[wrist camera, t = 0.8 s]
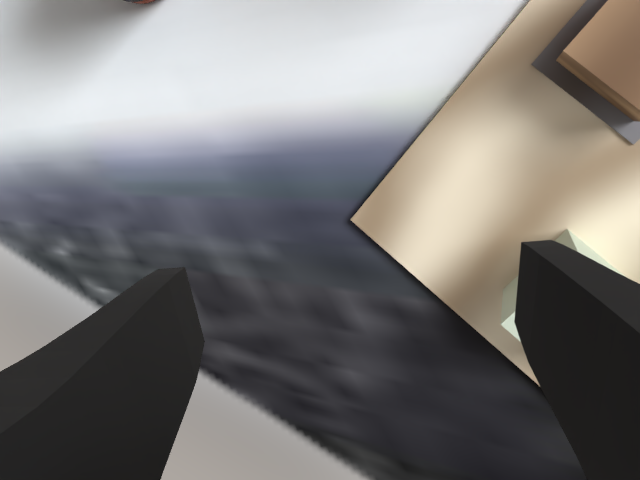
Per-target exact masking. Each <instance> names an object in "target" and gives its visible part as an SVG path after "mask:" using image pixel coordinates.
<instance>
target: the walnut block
mask: <svg viewBox="0 0 640 480" xmlns="http://www.w3.org/2000/svg"><path fill="white" fill-rule="evenodd" d="M556 61H557V62H558V63H560V64H561V65H562V66H564V67H565V68H566V69H567V70H569V71H570V72H571V73H573V74H574V75H575V76H576V77H578V78H579V79H580V80H581V81H583V82H584V83H585V84H587V85H588V86H589V87H590V88H592V89H593V90H594V91H596V92H597V93H598V94H599V95H601V96H602V97H603V98H605V99H606V100H607V101H608V102H610V103H611V104H612V105H614V106H615V107H616V108H617V109H619V110H620V111H621V112H623V113H624V114H625V115H626V116H628V117H629V118H630V119H632V120H633V121H638V122H640V0H608V1H607V2H606V3H605V4H604V5H603V6H602V8H601V9H600V10H599V11H598V12H597V13H596V14H595V16H594V17H593V18H592V19H591V20H590V21H589V22H588V23H587V25H586V26H585V27H584V28H583V29H582V30H581V31H580V32H579V34H578V35H577V36H576V37H575V38H574V39H573V40H572V41H571V43H570V44H569V45H568V46H567V47H566V48H565V49H564V50H563V52H562V53H561V54H560V56H559V57H558V58H557V59H556Z"/></svg>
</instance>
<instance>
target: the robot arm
mask: <svg viewBox="0 0 640 480" xmlns="http://www.w3.org/2000/svg"><path fill="white" fill-rule="evenodd" d="M514 322H515V325H516V329H517V332H518V335H519V338H520V341H521V344H522V346H523V349H524V352H525V355H526V357H527V360H528V363H529V365H530V367H531V369H532V371H533V373H534V375H535V377H536V379H537V381H538V383H539V385H540V387H541V389H542V391H543V393H544V394H545V396H546V398H547V400H548V402H549V404H550V406H551V408H552V410H553V412H554V414H555V416H556V418H557V419H558V421H559V423H560V425H561V427H562V429H563V431H564V433H565V435H566V437H567V439H568V441H569V443H570V444H571V446H572V448H573V450H574V452H575V454H576V456H577V458H578V460H579V463H580V465H581V467H582V469H583V471H584V473H585V475H586V478H587V480H640V284H639V283H637V282H635V281H633V280H631V279H629V278H627V277H625V276H623V275H621V274H619V273H617V272H615V271H613V270H611V269H609V268H607V267H606V266H604V265H602V264H600V263H598V262H596V261H594V260H592V259H590V258H588V257H587V256H585V255H583V254H581V253H579V252H577V251H575V250H573V249H571V248H569V247H567V246H565V245H563V244H561V243H558V242H556V241H553V240H542V241H529V242H521V251H520V262H519V274H518V285H517V297H516V309H515V320H514ZM204 342H205V341H204V337H203V334H202V330H201V326H200V322H199V319H198V315H197V311H196V307H195V303H194V300H193V296H192V292H191V288H190V284H189V281H188V277H187V273H186V269H185V267H181V268H168V269H158V270H156V271H154V272H152V273H151V274H149V275H147V276H146V277H144V278H143V279H141V280H140V281H138V282H137V283H135V284H134V285H133V286H131V287H130V288H128V289H127V290H126V291H124V292H123V293H121V294H120V295H119V296H117V297H116V298H114V299H113V300H112V301H110V302H109V303H107V304H106V305H105V306H103V307H102V308H100V309H99V310H98V311H96V312H95V313H93V314H92V315H91V316H89V317H88V318H86V319H85V320H83V321H82V322H81V323H79V324H77V325H76V326H74V327H73V328H72V329H70V330H68V331H67V332H65V333H64V334H62V335H61V336H59V337H58V338H56V339H55V340H53V341H52V342H50V343H49V344H47V345H46V346H44V347H42V348H41V349H39V350H37V351H36V352H34V353H32V354H31V355H29V356H27V357H26V358H24V359H22V360H21V361H19V362H17V363H15V364H13V365H11V366H10V367H8V368H6V369H4V370H2V371H1V372H0V480H160V479H161V476H162V473H163V470H164V468H165V465H166V462H167V460H168V457H169V454H170V452H171V449H172V446H173V443H174V441H175V438H176V435H177V432H178V430H179V427H180V424H181V422H182V419H183V417H184V414H185V411H186V408H187V406H188V403H189V400H190V397H191V395H192V392H193V389H194V386H195V383H196V380H197V375H198V371H199V367H200V362H201V357H202V352H203V347H204Z"/></svg>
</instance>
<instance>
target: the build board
mask: <svg viewBox="0 0 640 480" xmlns="http://www.w3.org/2000/svg"><path fill="white" fill-rule="evenodd" d="M607 1H608V0H530V1H529V2H528V4H527V5H526V6H525V7H524V9H523V10H522V11H521V12H520V13H519V15H518V16H517V17H516V18H515V20H514V21H513V22H512V23H511V24H510V26H509V27H508V28H507V29H506V31H505V32H504V33H503V34H502V35H501V37H500V38H499V39H498V40H497V41H496V43H495V44H494V45H493V46H492V48H491V49H490V50H489V51H488V52H487V54H486V55H485V56H484V57H483V59H482V60H481V61H480V62H479V63H478V65H477V66H476V67H475V68H474V70H473V71H472V72H471V73H470V74H469V76H468V77H467V78H466V79H465V81H464V82H463V83H462V84H461V85H460V87H459V88H458V89H457V90H456V92H455V93H454V94H453V95H452V96H451V98H450V99H449V100H448V101H447V103H446V104H445V105H444V106H443V107H442V109H441V110H440V111H439V112H438V114H437V115H436V116H435V117H434V118H433V120H432V121H431V122H430V123H429V124H428V126H427V127H426V128H425V129H424V131H423V132H422V133H421V134H420V135H419V137H418V138H417V139H416V140H415V142H414V143H413V144H412V145H411V146H410V148H409V149H408V150H407V151H406V153H405V154H404V155H403V156H402V157H401V159H400V160H399V161H398V162H397V164H396V165H395V166H394V167H393V168H392V170H391V171H390V172H389V173H388V175H387V176H386V177H385V178H384V179H383V181H382V182H381V183H380V184H379V186H378V187H377V188H376V189H375V190H374V192H373V193H372V194H371V195H370V196H369V198H368V199H367V200H366V201H365V203H364V204H363V205H362V206H361V207H360V209H359V210H358V211H357V212H356V214H355V215H354V216H353V217H352V218H351V221H352V222H353V223H355V224H356V225H357V226H358V227H359V228H360V229H361V230H363V231H364V232H365V233H366V234H367V235H368V236H369V237H371V238H372V239H373V240H374V241H375V242H376V243H377V244H378V245H380V246H381V247H382V248H383V249H384V250H385V251H386V252H388V253H389V254H390V255H391V256H392V257H393V258H394V259H396V260H397V261H398V262H399V263H400V264H401V265H402V266H404V267H405V268H406V269H407V270H408V271H409V272H410V273H411V274H413V275H414V276H415V277H416V278H417V279H418V280H419V281H421V282H422V283H423V284H424V285H425V286H426V287H427V288H429V289H430V290H431V291H432V292H433V293H434V294H435V295H437V296H438V297H439V298H440V299H441V300H442V301H443V302H444V303H446V304H447V305H448V306H449V307H450V308H451V309H452V310H454V311H455V312H456V313H457V314H458V315H459V316H460V317H462V318H463V319H464V320H465V321H466V322H467V323H468V324H470V325H471V326H472V327H473V328H474V329H475V330H476V331H477V332H479V333H480V334H481V335H482V336H483V337H484V338H485V339H487V340H488V341H489V342H490V343H491V344H492V345H493V346H495V347H496V348H497V349H498V350H499V351H500V352H501V353H503V354H504V355H505V356H506V357H507V358H508V359H509V360H511V361H512V362H513V363H514V364H515V365H516V366H517V367H518V368H520V369H521V370H522V371H523V372H524V373H525V374H526V375H528V376H529V377H530V378H531V379H532V380H533V381H534V382H536V383H537V384H538V385H539V383H538V381H537V379H536V377H535V375H534V373H533V371H532V369H531V367H530V365H529V363H528V360H527V357H526V355H525V352H524V349H523V346H522V344H521V342H520V341H519V340H518V339H517V338H516V337H514V336H513V335H512V334H511V333H510V332H509V331H508V330H506V329H505V328H504V327H503V326H502V325H501V312H502V296H503V289H504V288H505V287H506V286H507V285H508V284H509V283H510V282H511V281H512V280H514V279H515V278H516V277H517V276H518V274H519V262H520V251H521V242H529V241H542V240H553V241H555V240H556V239H557V238H558V237H559V236H560V235H561V234H562V233H563V232H564V231H565V230H567V229H568V230H570V231H571V232H572V233H573V234H574V235H576V236H577V237H578V238H579V239H580V240H582V241H583V242H584V243H585V244H586V245H588V246H589V247H590V248H591V249H593V250H594V251H595V252H596V253H597V254H599V255H600V256H601V257H602V258H603V259H605V260H606V261H607V262H608V263H609V264H611V265H612V266H613V267H614V268H616V269H617V270H618V271H619V272H620V273H622V274H623V275H624V276H625V277H627V278H629V279H631V280H633V281H635V282H637V283H639V284H640V122H638V121H633V120H632V119H630V118H629V117H628V116H626V115H625V114H624V113H623V112H621V111H620V110H619V109H617V108H616V107H615V106H614V105H612V104H611V103H610V102H608V101H607V100H606V99H605V98H603V97H602V96H601V95H599V94H598V93H597V92H596V91H594V90H593V89H592V88H590V87H589V86H588V85H587V84H585V83H584V82H583V81H581V80H580V79H579V78H578V77H576V76H575V75H574V74H573V73H571V72H570V71H569V70H567V69H566V68H565V67H564V66H562V65H561V64H560V63H558V62H557V61H556V59H557V58H558V57H559V56H560V54H561V53H562V52H563V50H564V49H565V48H566V47H567V46H568V45H569V44H570V43H571V41H572V40H573V39H574V38H575V37H576V36H577V35H578V34H579V32H580V31H581V30H582V29H583V28H584V27H585V26H586V25H587V23H588V22H589V21H590V20H591V19H592V18H593V17H594V16H595V14H596V13H597V12H598V11H599V10H600V9H601V8H602V6H603V5H604V4H605V3H606V2H607ZM539 386H540V385H539Z"/></svg>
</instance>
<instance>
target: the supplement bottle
mask: <svg viewBox="0 0 640 480" xmlns="http://www.w3.org/2000/svg"><path fill="white" fill-rule="evenodd" d="M125 1H129V2H133V3H139V4H143V3H150V2H153V1H155V0H125Z"/></svg>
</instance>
